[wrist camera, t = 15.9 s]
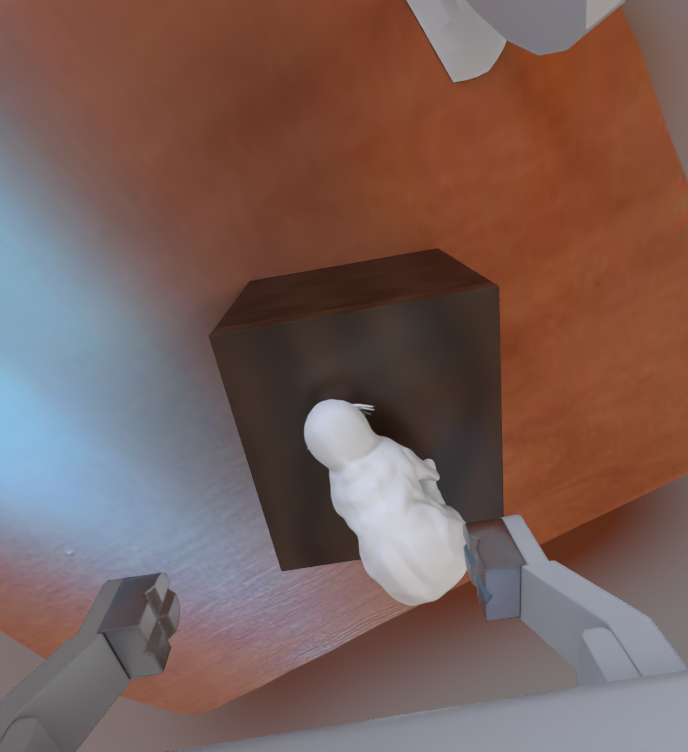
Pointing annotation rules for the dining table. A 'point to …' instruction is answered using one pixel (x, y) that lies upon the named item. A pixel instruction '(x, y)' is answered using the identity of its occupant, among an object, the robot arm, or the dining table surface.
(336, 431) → the white figurine
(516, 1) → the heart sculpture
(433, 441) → the shelf stand
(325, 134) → the dining table surface
